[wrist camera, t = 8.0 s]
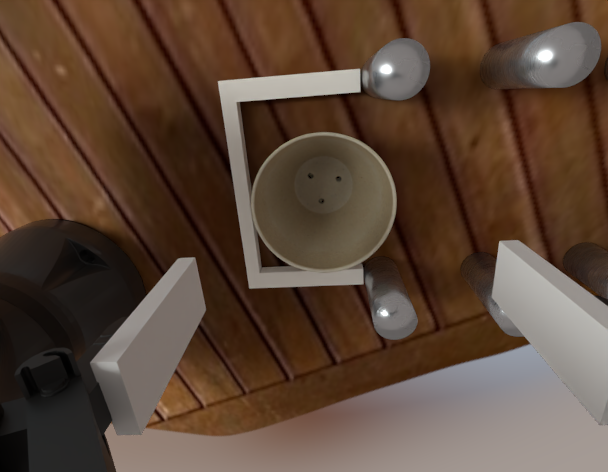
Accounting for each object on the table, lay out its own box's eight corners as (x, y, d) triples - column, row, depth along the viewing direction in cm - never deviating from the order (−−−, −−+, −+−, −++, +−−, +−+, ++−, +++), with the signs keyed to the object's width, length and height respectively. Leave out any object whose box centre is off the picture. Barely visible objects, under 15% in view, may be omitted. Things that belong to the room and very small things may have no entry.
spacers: (363, 287, 34) (373, 340, 27) (359, 55, 27) (372, 40, 20) (595, 278, 33) (674, 332, 25) (659, 28, 25) (797, 1, 18)
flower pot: (403, 197, 31) (424, 225, 24) (309, 255, 34) (305, 295, 27) (339, 97, 28) (344, 98, 22) (243, 169, 31) (221, 190, 24)
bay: (251, 282, 35) (249, 288, 34) (222, 81, 28) (217, 81, 27) (362, 277, 34) (363, 284, 33) (358, 69, 27) (360, 68, 26)
